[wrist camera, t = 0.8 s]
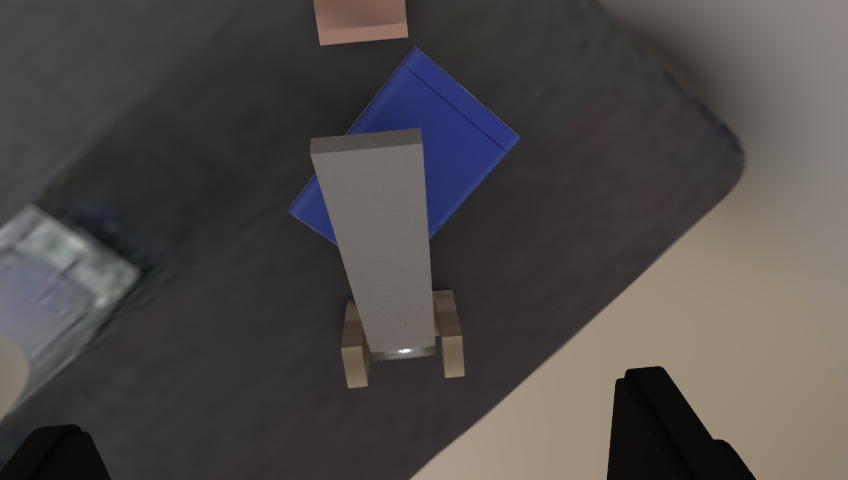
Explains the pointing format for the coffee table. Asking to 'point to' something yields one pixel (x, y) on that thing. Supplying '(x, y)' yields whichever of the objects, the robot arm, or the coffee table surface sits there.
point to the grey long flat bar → (382, 235)
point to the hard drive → (426, 139)
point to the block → (360, 20)
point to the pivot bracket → (445, 328)
